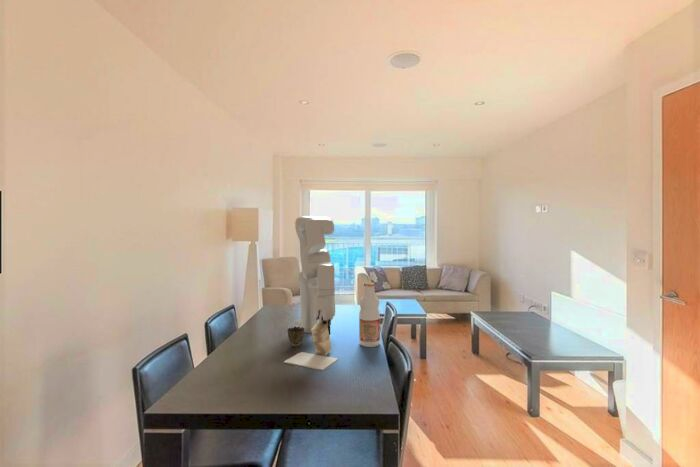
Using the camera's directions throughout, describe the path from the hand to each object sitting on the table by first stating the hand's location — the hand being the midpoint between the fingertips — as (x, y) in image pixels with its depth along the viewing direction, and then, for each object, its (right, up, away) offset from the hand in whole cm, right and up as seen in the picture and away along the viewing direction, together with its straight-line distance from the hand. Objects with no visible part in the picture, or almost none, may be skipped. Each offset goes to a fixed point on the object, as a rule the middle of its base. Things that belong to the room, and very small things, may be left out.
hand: (326, 334), depth 147 cm
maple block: (-1, -7, -1) cm, 7 cm away
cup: (-14, -8, +8) cm, 18 cm away
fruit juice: (+19, -7, +10) cm, 23 cm away
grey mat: (-5, -7, -10) cm, 14 cm away
